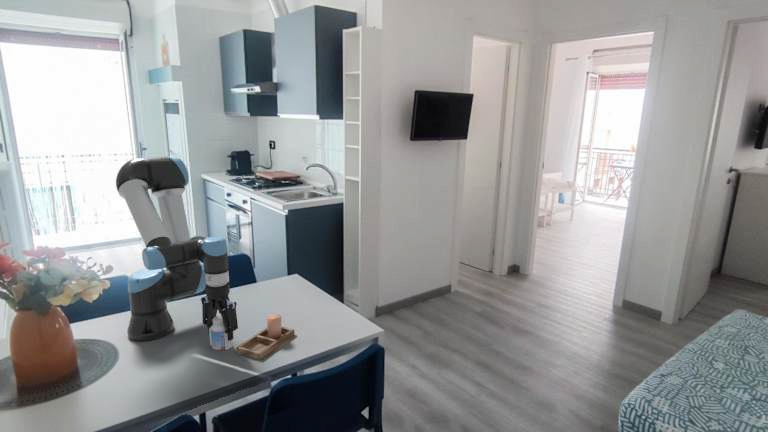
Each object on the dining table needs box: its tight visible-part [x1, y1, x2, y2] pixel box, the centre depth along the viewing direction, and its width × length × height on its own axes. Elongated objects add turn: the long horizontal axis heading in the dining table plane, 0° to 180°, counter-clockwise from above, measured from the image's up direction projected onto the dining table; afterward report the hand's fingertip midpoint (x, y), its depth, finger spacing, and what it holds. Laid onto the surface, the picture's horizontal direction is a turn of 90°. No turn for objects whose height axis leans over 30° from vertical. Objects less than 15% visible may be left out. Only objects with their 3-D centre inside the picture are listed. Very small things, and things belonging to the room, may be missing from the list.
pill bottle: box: [211, 315, 230, 351], centre depth 149 cm, size 6×6×11 cm
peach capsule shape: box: [266, 313, 283, 340], centre depth 155 cm, size 5×5×8 cm
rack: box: [234, 325, 297, 361], centre depth 152 cm, size 12×19×3 cm, turn 156°
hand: (221, 345), depth 150 cm, fingers closed on pill bottle, 6 cm apart
